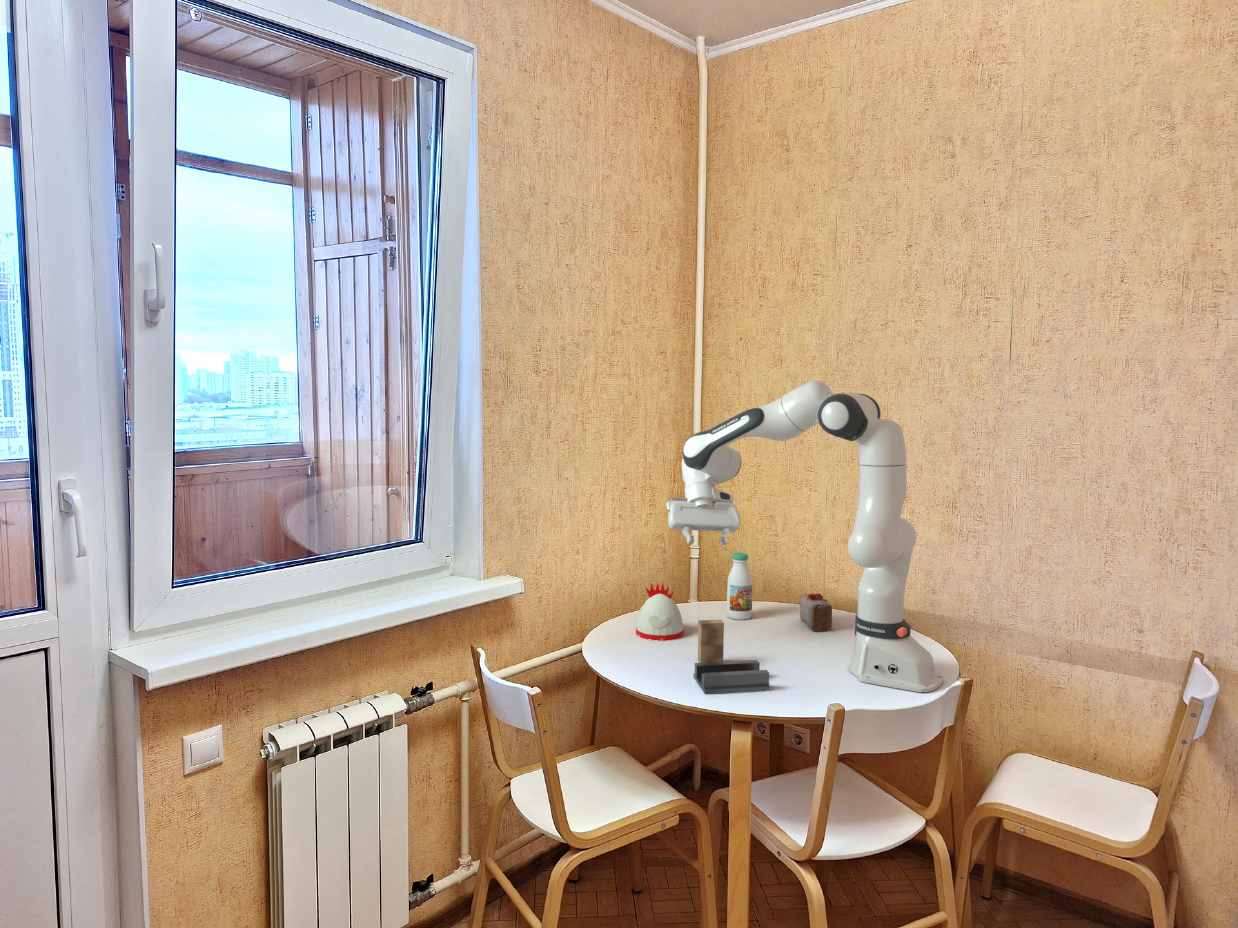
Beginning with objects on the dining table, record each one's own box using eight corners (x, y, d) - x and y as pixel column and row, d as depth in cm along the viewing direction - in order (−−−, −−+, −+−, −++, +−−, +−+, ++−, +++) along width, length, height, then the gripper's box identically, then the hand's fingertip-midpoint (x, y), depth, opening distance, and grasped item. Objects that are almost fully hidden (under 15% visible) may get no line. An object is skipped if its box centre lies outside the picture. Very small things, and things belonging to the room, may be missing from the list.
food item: (796, 618, 249) (797, 587, 248) (821, 618, 250) (822, 587, 249) (810, 632, 236) (811, 599, 235) (836, 632, 236) (837, 599, 235)
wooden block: (720, 660, 212) (720, 619, 211) (723, 664, 209) (723, 622, 208) (697, 661, 211) (698, 620, 210) (700, 665, 208) (701, 623, 207)
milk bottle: (721, 616, 251) (722, 553, 249) (736, 611, 256) (738, 550, 254) (741, 622, 245) (743, 557, 243) (756, 616, 251) (758, 553, 249)
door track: (755, 673, 202) (755, 658, 202) (770, 690, 191) (770, 674, 191) (693, 677, 200) (693, 661, 199) (704, 694, 189) (705, 677, 188)
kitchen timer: (637, 625, 242) (638, 576, 240) (683, 626, 241) (684, 577, 239) (634, 640, 228) (634, 588, 227) (683, 641, 227) (683, 589, 225)
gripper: (668, 491, 222) (674, 536, 215) (738, 495, 226) (746, 539, 219) (662, 502, 227) (667, 547, 220) (731, 506, 232) (738, 549, 224)
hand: (707, 543), depth 219 cm, fingers open, 8 cm apart
